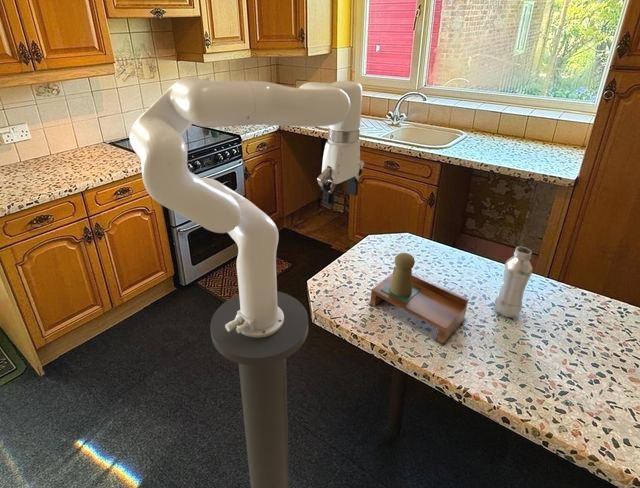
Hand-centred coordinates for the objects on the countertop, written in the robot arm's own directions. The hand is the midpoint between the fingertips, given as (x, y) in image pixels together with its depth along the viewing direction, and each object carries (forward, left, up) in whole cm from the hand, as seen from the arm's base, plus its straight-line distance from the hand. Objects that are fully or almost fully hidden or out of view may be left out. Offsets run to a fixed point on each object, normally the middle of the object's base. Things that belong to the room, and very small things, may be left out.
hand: (340, 199), depth 103 cm
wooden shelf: (+9, -21, -30) cm, 38 cm away
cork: (+8, -16, -25) cm, 31 cm away
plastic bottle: (+26, -39, -30) cm, 56 cm away
